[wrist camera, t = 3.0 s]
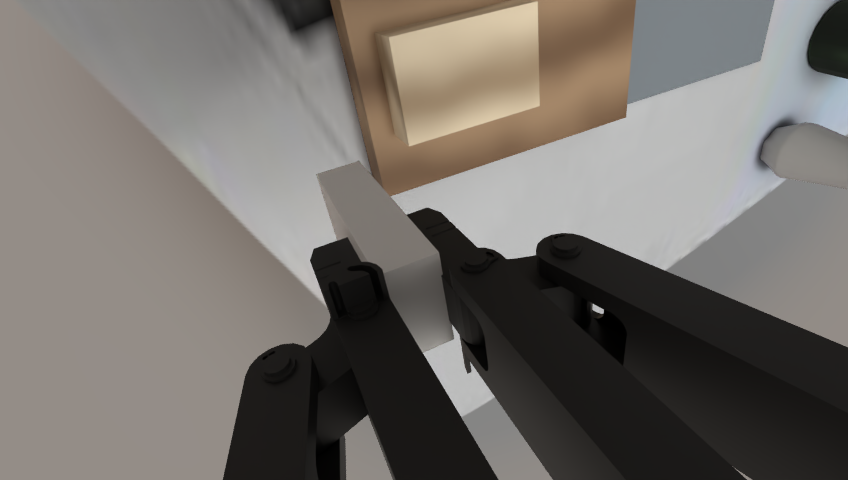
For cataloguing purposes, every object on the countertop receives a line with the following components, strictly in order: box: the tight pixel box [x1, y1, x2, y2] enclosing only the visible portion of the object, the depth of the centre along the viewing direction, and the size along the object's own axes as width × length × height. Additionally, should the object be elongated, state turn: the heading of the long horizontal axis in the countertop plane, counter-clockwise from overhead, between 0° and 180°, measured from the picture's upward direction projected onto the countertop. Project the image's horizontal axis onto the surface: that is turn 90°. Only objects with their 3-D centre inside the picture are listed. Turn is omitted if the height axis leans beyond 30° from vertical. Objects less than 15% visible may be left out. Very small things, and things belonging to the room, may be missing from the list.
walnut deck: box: [330, 0, 636, 196], centre depth 30 cm, size 14×20×2 cm
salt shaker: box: [760, 122, 848, 189], centre depth 43 cm, size 6×6×13 cm
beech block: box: [375, 0, 540, 146], centre depth 27 cm, size 6×9×2 cm, turn 100°
